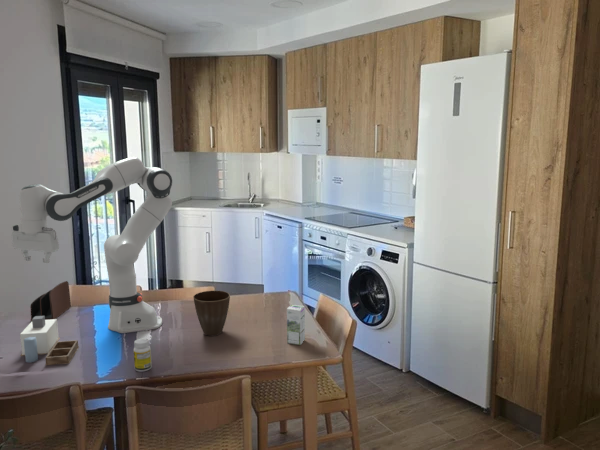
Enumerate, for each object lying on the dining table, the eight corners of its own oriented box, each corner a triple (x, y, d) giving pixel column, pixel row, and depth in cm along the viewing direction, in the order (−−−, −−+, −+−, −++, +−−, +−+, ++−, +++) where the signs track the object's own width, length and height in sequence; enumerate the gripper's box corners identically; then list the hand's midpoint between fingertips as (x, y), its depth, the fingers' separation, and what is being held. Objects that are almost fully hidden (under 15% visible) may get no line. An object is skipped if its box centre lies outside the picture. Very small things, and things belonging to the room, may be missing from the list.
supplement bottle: (136, 365, 186) (135, 337, 184) (153, 364, 186) (151, 337, 185) (133, 372, 180) (131, 344, 179) (149, 371, 181) (148, 343, 179)
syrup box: (305, 340, 208) (305, 305, 206) (300, 345, 203) (300, 309, 200) (291, 338, 210) (291, 303, 208) (286, 343, 205) (286, 308, 202)
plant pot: (238, 332, 217) (237, 295, 215) (209, 342, 207) (208, 303, 204) (216, 323, 228) (215, 288, 225) (187, 333, 217) (186, 296, 214)
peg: (39, 360, 191) (37, 336, 189) (36, 364, 187) (34, 340, 186) (27, 360, 190) (25, 337, 189) (24, 365, 186) (22, 341, 185)
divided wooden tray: (79, 349, 201) (78, 340, 200) (69, 365, 186) (68, 356, 185) (56, 350, 199) (56, 341, 198) (45, 367, 184) (44, 357, 184)
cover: (58, 338, 209) (56, 310, 207) (48, 353, 195) (45, 323, 193) (34, 340, 207) (31, 312, 206) (22, 355, 193) (19, 325, 191)
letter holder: (71, 307, 252) (69, 278, 250) (53, 321, 233) (50, 290, 230) (50, 307, 252) (48, 279, 250) (30, 321, 232) (28, 290, 230)
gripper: (61, 227, 201) (64, 262, 203) (21, 224, 208) (23, 258, 210) (48, 229, 195) (51, 265, 197) (7, 226, 202) (10, 261, 204)
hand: (36, 261), depth 204 cm, fingers open, 8 cm apart
